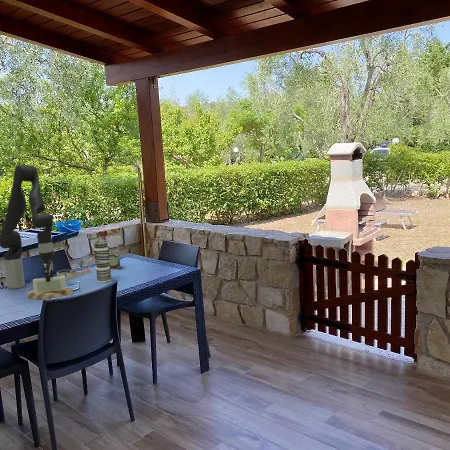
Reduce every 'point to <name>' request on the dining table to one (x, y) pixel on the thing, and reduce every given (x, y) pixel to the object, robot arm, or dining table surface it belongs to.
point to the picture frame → (49, 284)
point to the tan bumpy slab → (50, 294)
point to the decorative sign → (72, 273)
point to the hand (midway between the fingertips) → (49, 279)
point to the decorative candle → (102, 261)
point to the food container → (114, 261)
